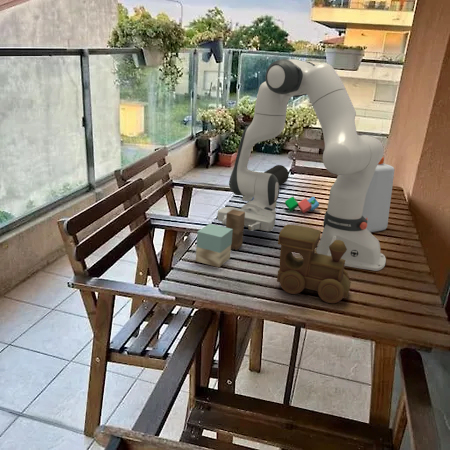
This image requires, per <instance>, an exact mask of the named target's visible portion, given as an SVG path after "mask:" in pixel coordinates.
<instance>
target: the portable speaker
mask: <svg viewBox="0 0 450 450" xmlns="http://www.w3.org/2000/svg"><path fill="white" fill-rule="evenodd" d="M264 173H269V174H274V175H275V176H276V178H277V180H278V182H279V185H280V187H281V186H282V185H284V184H285V183H286V182H287V181H288V179H289V176H290V175H289V170H288V169H287V167H285V166H284V165H281V164H277V165H274V166H273V167H271V168H269V169H267V170H266V171H264Z"/></svg>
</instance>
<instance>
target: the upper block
mask: <svg viewBox="0 0 450 450" xmlns="http://www.w3.org/2000/svg"><path fill="white" fill-rule="evenodd" d="M232 233H233V229H230V228H226V226H220V225H216V224H212V223H209V224H207V225H205V226H203V227H202V228H201V229H199V230H197V232H196V247H199V248H203V249H207V250H211V251H215V252H219V253H221V252H222V251H223V250H225V249H226V248H227V247H228V246H230V245H231V244H232Z"/></svg>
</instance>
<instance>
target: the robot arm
mask: <svg viewBox="0 0 450 450" xmlns="http://www.w3.org/2000/svg"><path fill="white" fill-rule="evenodd" d="M302 96H307V97H308V98H309V100H310V104H311V105H312V108H313V109H314V112H315V115H316V117H317V120H318V123H319V125H320V126H321V130H322V134H323V141H324V150H323V152H322V153H323V154H322V163H323V166H324V167H325V169H326V170H327V171H328V172H329V173H330V174H334V175H337V177H336V180H335V181H334V183H333V184H332V186H331V187H330V189H329V190H330V191H329V194H328V195H329V196H328V203H327V210H326V211H325V213H324V216H323V217H324V218H323V223H322V224H323V226H322V227H323V230H322V232H321V235H320V240H319V243H318V245H317V247H316V248H315V253H317V254H323V255H328V256H331V252H330V249H329V246H330V245H331V244H332V243H333V242H334V241H335V240H341V241H343V242H344V244H345V246H346V248H347V250H346V252H345V253H344V255H343V256H342V257H341V259H344V260H345V265H344V267H350V268H357V269H363V270H368V271H369V270H370V271H373V272H374V271H381V270H382V269H384V267H385V266H386V262H387V261H386V260H387V258H386V256H385V254H383V253H382V252H381V245H380V244H381V243H380V241H379V239H378V238H376V236H374V235H373V233H372V232H369V231H368V230H367V229H366V227H367V222H368V221H367V220H368V219H367V218H366V219H365V218H364V217H363V216H362V212H363V207H364V202H365V197H366V193H367V190H368V187H369V185H370V182H371V180H372V177H373V175H374V172H375V169H376V167H377V165H378V163H379V162H380V160H381V159H382V157H384V151H385V150H384V146H383V143H382V142H381V141H380V139H378V138H376V137H374V136H370V135H366V134H364V135H363V134H362V135H359V134H358V132H357V128H356V120H355V119H356V116H357V111H356V109H355V107H354V104H353V103H352V100H351V98H350V96H349V93H348V91H347V89H346V87H345V85H344V82H343V80H342V78H341V77H340V75H339V74H338V73H337V71H336V70H335V68H334V67H333V66H332V65H331V64H329V63H325V62H322V63H318V64H314V63H313V62H310V61H304V60H299V59H294V58H293V59H287V58H286V59H285V58H281V59H277V60H274V61H272V62H271V63H270V65H268V67H267V69H266V71H265V81H263V82H262V83H261V84H260V85H259V88H258V91H257V95H256V100H255V106H254V115H253V119H252V121H251V122H250V124H249V125H247V126H246V127H245V128H244V129H243V132H242V135H241V138H240V141H239V145H238V148H237V149H238V150H237V153H236V158H235V162H234V166H233V168H232V171H231V173H230V178H229V182H228V185H229V188H230V191H231V192H232V193H233V194H234V195H235V196H242V197H243V196H249V197H254V199H253V200H252V201H247V203H245V204H244V205H243V206H241V208H239V207H233V206H225V207H222V208H221V209H219V210H217V215H216V216H217V217H216V218H217V220H218V221H220V222H222V225H225V226H226V219H227V213H228V212H229V211H231V210H238V211H242V212H245V219H244V227H247V228H248V229H247V230H248V231H254V230H256V231H257V230H259V231H264V232H272V231H273V230H274V227H275V225H276V219H277V218H276V216H277V211H276V208H277V201H278V199H279V196H280V187H281V186H280V185H279V182H278V180H277V178H276V176H275V175H274V174H269V173H264V172H265V171H264V172H263V171H262V172H261V171H256V170H250V169H248V164H249V161H250V156H251V153H252V149H253V147H254V146H255V145H256V144H258V143H261V142H264V141H265V142H266V141H268V140H272V139H274V138H276V137H278V136H279V135H280V134H282V132H283V130H284V128H285V125H286V119H287V109H288V104H289V100H290V99H291V98H292V97H295V98H298V97H302Z"/></svg>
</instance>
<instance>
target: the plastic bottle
mask: <svg viewBox="0 0 450 450" xmlns="http://www.w3.org/2000/svg"><path fill="white" fill-rule="evenodd" d="M384 161H385V157H384V156H383V157H382V159H381V160H380V162H379V163H378V165H377V167H376V169H375V172H374V175H373V177H372V180H371V182H370V185H369V187H368V190H367V193H366V197H365V202H364V207H363V212H362V216H363V217H364V218H365V219H366V218H367V219H368V220H367V221H368V222H367V227H366V229H367V230H368V231H369V232H370V233H375V232H381V231H382V232H383V231H386V229H387V228H388V224H389V216H390V207H391V201H392V200H391V199H392V194H393V185H394V178H395V177H394V176H395V167H394V166H392V165H390V164H387V163H384Z"/></svg>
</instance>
